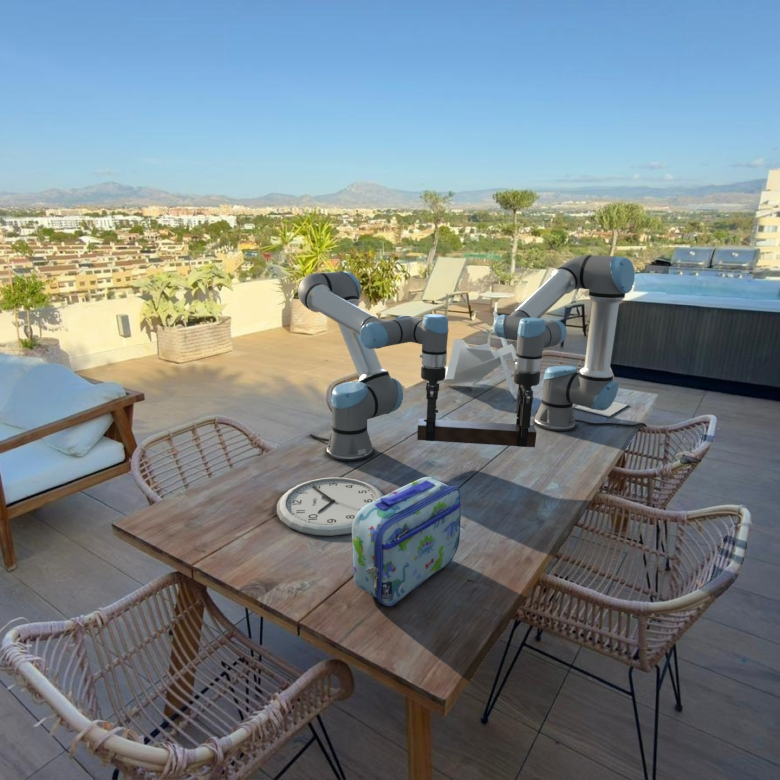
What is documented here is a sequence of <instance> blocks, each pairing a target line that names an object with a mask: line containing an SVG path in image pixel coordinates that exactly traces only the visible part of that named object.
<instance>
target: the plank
mask: <svg viewBox="0 0 780 780" xmlns="http://www.w3.org/2000/svg"><path fill="white" fill-rule="evenodd" d="M426 419H427V418H418V423H417V436H416V439H417V440H416V441H425V442H427V441H426V422H424V420H426ZM517 425H520V424H516V423H503V422H502V423H501V422H488V421H487V422H483V421H470V420H469V421H468V420H451V419H436V420H435V436H434V441H433V442H442V443H443V442H445V443H460V444H475V445H476V444H477V445H488V446H489V445H491V446H507V447H508V446H509V447H517V443H518V432H519V427H518V426H517ZM536 440H537V429H536V427H535V425H534V424H530V428H528V438H527V447H526V448H536Z"/></svg>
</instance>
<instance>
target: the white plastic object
mask: <svg viewBox="0 0 780 780" xmlns="http://www.w3.org/2000/svg"><path fill="white" fill-rule="evenodd" d="M492 315H493V319H494V321H495V320H496V319H497V317H498V316H499V314H498V312H497V311H496V310H495V311H492ZM499 338H500V342H501V345H502V347H500V348H498V349H496V350H495V349H493V348H492V347H491V346H490V344H489V343H488V342H487V343H483V344H479V345H473V346H469V345H468V343H466V342H465V340H464V339H463V338H460V339H458V338H454V340H453V344H452V349H451V353H450V357H449V362H448V366H445V368H446V377H445V379H444V380H442V383H443V384H444V385H445V386H449V385H458V384H467V383H468V384H469V383H473V384H477V383H480V382H482V381H484V378H485V377H486V376H487V375H489V374H490V373H492V372H494V371H495V370H496V369H497V368H499V367H500V366H502V370H503V373H504V376H505V380H506V383H507V386H508V390H509V393H510V394H511V395H512V397H513V398H514V399H515V400H517V399H518V394H517V392H516V391H517V390H516V388H515V385H514V380H513V378H512V375H511V371H510V369H509V365H508V361H510V360H513V363H514V364H515V363H516V362H514V359H516V352H517V348H516V347H515V346H514V345H513V343H511V344H508V341H507V340H508V339H505V338H501V337H499Z"/></svg>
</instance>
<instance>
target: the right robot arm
mask: <svg viewBox="0 0 780 780" xmlns="http://www.w3.org/2000/svg"><path fill="white" fill-rule="evenodd" d="M635 273H636V272H635V268H634V265H633V262H632V260H631V259H630V258H627V257H624V256H617V255H593V254H584V255H583V254H582V255H579V256H576V257H573V258H571V259H569V260H567V261H566V262H563V263H562V264H560V265H559V266H557V268H555V269H554V270H553V271H552V272H551V273H550V276H549V278H548V280H546V281H545V282H544V283H543V284H542V285H541V286H539V288H538V289H537V290H536V291H535V292H534V293H532V294H531V295H530V296H529V297H528V298H527V299H525V301H523V302H522V303H521V304H520V306H518V307H517V308H516V309H515V310H514V311H513V312H511V314H500V315H498V317H497V319H496V320H495V319H494V323H493V331H494V334H495V336H496V337H498V338H500V337H501V338H505V339H506V340H510V341H516V359H514V360H513V363H514V362H516V363H514V368H515V370H514V373H513V383H515V384H516V385H518V388H517V393H518V394H517V399H516V411H515V413H516V420H515V424H520V425H517V426H518V427H519V432H518V443H517V446H516V447H518V448H528V447H527V438H528V428H530V425H531V420H532V419H531V418H532V407H533V401H534V390H533V388H532V387H535V386H536V387H537V386H538V385H539V384H540V381H541V379H540V378H541V372H540V371H542V364H543V363H542V362H543V351H544V349H546V348H550V347H555V346H557V345H559V344H562V343H563V342H564V341H565V339H566V338H567V336H568V335H567V334H568V332H567V327H566V325H565V324H564V323H563V322H562V321H560V320H548V321H547V320H545V319H543V318H542V317H543V316H544V315H545V314H546V313H547V312H548V311H549V310H550V309H551V308H552V307H554V305H556V304H557V303H558V302H559V300H561V299H562V298H563V297H564V296H565V295H567V294H571V293H572V292H573V291H574V290H577V289H578V290H580V289H583V290H588V297H589V298H590V299H591V301H592V303H591V310H590V311H591V312H590V318H589V326H588V334H587V335H588V336H587V341H586V342H587V343H586V351H585V357H584V364H583V365H584V366H583V367H582V368H580V369H579V371H578V368H577V367H575V366H571V365H555V366H554V365H553V366H550V367H547V368H546V369H545V371H544V375H543V381H542V382H543V383H542V394H541V402H540V405H539V407H538V410H537V411H535V416H534V424H535V425H536V426H537V427H539V428H542V429H544V430H549V431H556V432H567V431H572V430H574V429H575V428H576V423H580V424H586V425H590V426H618V427H619V426H620V427H631V428H633V427H638V426H643V427H644V428H648V425H647V424H646V423H644V422H638V423H634V424H631V423H629V424H628V423H621V422H590V421H587V420H581V419H576V418H575V417H576V416H575V413H574V407H573V405H575V406H578V405H580V406H584V407H588V408H591V409H596V410H600V411H603V410H606V409H608V408H609V407H610V406H611V404H612V403H613V401H614V402H615V399H616V397H617V395H618V391H619V383H618V381H617V380H615V379H614V373H613V371H612V370H611V364H612V363H611V362H612V355H613V348H614V342H615V336H616V335H615V334H616V327H617V320H618V313H619V307H620V302H621V301H622V300H624V299H625V298H626V294H628V293H629V294H630V292H631V291H632V290H633V286H634V284H635V278H636V277H635V275H636V274H635ZM501 338H500V339H501Z"/></svg>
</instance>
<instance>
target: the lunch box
mask: <svg viewBox="0 0 780 780" xmlns="http://www.w3.org/2000/svg"><path fill="white" fill-rule="evenodd" d="M461 499H462V497H461V491H460V489H459V488H458V487H457V486H455V485H450V486H449V485H447V484H445V483H444V482H442V481H440V480H438V479H436V478H434V477H432V476H424V477H421V478H419V479H416V480H414V481H412V482H410V483H407V484H405V485H404V486H401V487H399V488H397V489H395V490H392V491H391V492H390V493H386V494H384V496H383V497H381V498H379V499H377V500H375V501H373V502H371V503H369V504H367V505H365V506H364V507H362V508H361V509H360V510H359V512H358V513H357V515H356V516H355V518H354V521H353V526H352V533H351V550H352V576H353V581H354V584H355V587H356V588H358V589H360V590H362V591H364V592H366V593H368V594H370V596H372V597H374V598H375V599H377V601H378V603H379V604H382V605H383V606H385V607H393V606H394V605H396V604H397V603H399V602H400V601H402V599H404V598H405V597H406V596H407V595H409V594H410V593H411V592H413V591H414V590H415V589H416V588H418V587H419V586H420V585H422V584H423V583H424V582H425V581H427V580H428V579H429V578H430V577H432V575H434V574H435V573H437V572H439V571H441V570H442V569H443V568H445V567H446V566H448V565H449V564H450V562H452V560H453V559H454V557H455V555H456V553H457V551H458V549H459V544H460V537H461V519H462V515H461V513H462V512H461V510H462V507H461V505H462V504H461V503H462V502H461Z"/></svg>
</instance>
